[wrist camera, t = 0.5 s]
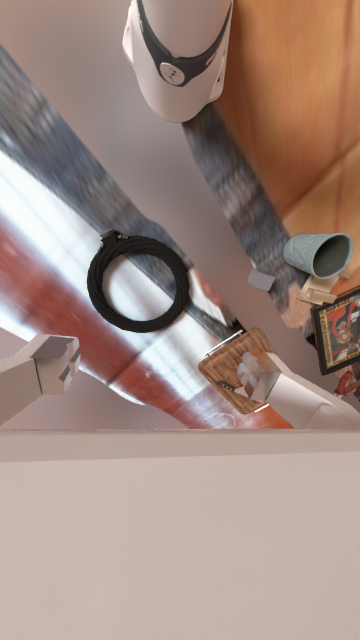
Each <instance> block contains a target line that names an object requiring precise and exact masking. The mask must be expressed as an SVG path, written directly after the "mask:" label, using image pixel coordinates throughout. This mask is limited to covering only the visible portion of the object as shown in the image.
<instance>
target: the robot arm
mask: <svg viewBox="0 0 360 640" xmlns="http://www.w3.org/2000/svg"><path fill="white" fill-rule="evenodd" d="M232 9H233V0H132V2H131V6H130V8H129V15H128V19H127V24H126V27H125V32H124V36H123V51H124V53H125V55H126V57H127V59H128V61H129V62H130V64H131V66H132V67H133V68H134V70H135V73H136V76H137V79H138V82H139V86H140V89H141V92H142V94H143V96H144V98H145V100H146V102H147V103H148V105H149V106H150V108H151V109H152V110H153V111H154V112H155V113H156V114H157V115H158V116H160V117H161V118H163V119H164V120H166V121H169V122H174V123H181V122H185V121H188V120H190V119H192V118H193V117H194V116H196V115H197V114H198V113H199V112H200V110H201V109H202V108H203V107H204V106H205V105H206V104H207V103H210V102H212V101H215V100H217V99H218V98H219V97H220V96H221V93H222V90H223V84H224V76H225V67H226V59H227V51H228V42H229V34H230V25H231V17H232ZM218 79H219V82H217V80H218ZM78 347H79V339H78V338H77V337H67V336H57V335H47V334H38V335H36V336H35V337H34V338H33V339H32V340H31V341H30V342H29V343H28V344H27V345H26V346H25V347H23V348H22V349H21V350H20V351H19V352H18V353H17V354H16V355H15V356H14V357H7V358H5V359H2V360H0V426H1V425H2V424H3V423H5V422H6V421H8V420H9V419H10V418H12V417H13V416H14V415H16V414H17V413H18V412H20V411H21V410H23V409H24V408H25V407H27V406H28V405H29V404H31V403H32V402H33V401H35V400H36V399H37V398H39V397H40V396H42V395H41V394H65V393H66V391H67V390H68V388H69V386H70V384H71V377H72V376H74V375H75V374H76V373H77V371H78V368H79V364H80V353H79V352H78V351H77V349H78ZM242 358H243V362H242V363H240V364H239V367H238V378H239V380H240V382H241V383H242V384H244V385H245V387H244V390H245V392H246V394H247V395H248V397H249V399H250V400H263V401H265V402H267V403H268V404H269V405H270V406H271V407H272V408H273V409H274V410H275V411H276V412H277V413H278V414H280V415H281V416H282V417H283V418H284V419H285V420H286V421H287V422H288V423H289V424H290V425H292V426H293V427H294V428H295V429H82V430H81V429H74V430H73V429H70V430H69V429H64V430H63V429H62V430H61V429H59V430H58V429H50V430H49V429H48V430H46V429H45V430H0V640H360V414H359V413H358V412H357V411H356V410H355V409H354V408H353V407H352V406H351V405H349V404H348V403H346V402H344V401H342V400H341V399H339V398H337V397H335V396H334V395H332V394H330V393H328V392H326V391H325V390H323V389H321V388H320V387H318V386H316V385H314V384H313V383H311V382H309V381H307V380H306V379H304V378H302V377H300V376H299V375H297V374H293V373H292V372H291V371H290V370H289V369H288V367H287V366H286V365H285V364H284V363H283V362H282V361H281V360H280V359H279V358H278V356H277V355H276V354H274V353H269V352H249V351H246V352H245V353H244V354H243V357H242Z"/></svg>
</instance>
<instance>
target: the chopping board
mask: <svg viewBox="0 0 360 640" xmlns="http://www.w3.org/2000/svg"><path fill="white" fill-rule="evenodd" d="M241 332H242V329H241V330H240V331H238V332H237V333H235V334H233V335H232V336H230V337H229V338H227V339H226V340H224V341H223V342H221V343H220V344H218V345H216V346H215V347H213V348H212V349H210V350H209V351H207V352H206V353H204V354H203V355H204V356H205V355H208V356H209V357H207V358H205V359H204V360H202V361H201V362H200V363H199V365H198V370H199V371H200V373H201V374H202V375H203V376H204V377H205V378H206V379H207V380H208V381H209V382H210V383H211V384H212V385H213V386H214V387H215V388H216V389H217V390H218V391H219V392H220V393H221V394H222V395H223V396H224V397H225V398H226V399H227V400H228V401H229V402H230V403H231V404H232V405H233V406H234V407H235V408H236V409H237V410H238V411H239V412H240V413H241V414H249V413H251V412H253V411H254V412H255V413H256V412H258V411H260V410H262V409H263V408H265V407H267V406H269V404H267V402H265V401H263V400H250V399H249V397H248V395H247V394H246V392H245V390H244V387H245V385H244V384H242V383H241V382H240V380H239V378H238V367H239V364H240V363H242V362H243V358H242V357H243V354H244V353H245V352H246V351H249V352H269V353H274V354H276V352H275V351H274V349H273V348H272V346H271V344H270V343H269V341H268V339H267V338H266V336H265V334H264V333H263V332H262V331H261V330H260V329H259V328H251V329H249V330H247V332H246V333H244V334H243V335H241V334H240V333H241ZM238 334H239V335H240V337H238V338H237V339H235V340H233V341H232V342H230V343H229V344H227V345H226V346H224V347H223V348H221V349H219V350H218V351H216V352H215V353H213V354H212V355H209V354H208V353H210V352H211V351H213V350H214V349H216V348H217V347H219V346H221V345H222V344H224V343H225V342H227V341H228V340H230V339H231V338H233V337H234V336H236V335H238ZM276 355H277V354H276ZM266 404H267V405H266ZM264 405H265V406H264ZM262 406H263V407H262ZM260 407H261V408H260ZM258 408H260V409H258ZM257 409H258V410H257ZM255 410H256V411H255Z"/></svg>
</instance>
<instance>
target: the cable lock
mask: <svg viewBox="0 0 360 640" xmlns="http://www.w3.org/2000/svg"><path fill="white" fill-rule="evenodd" d="M113 231H114V229H108V230H106V231H104V232H102V233H101V235H100V237H103V239H102V240H101V241H102V242H103V243H104V244H101V246H100V248H99V250H98V253H97V254H96V255H95V257H94V258H93V260H92V261H91V264H90V268H89V270H88V276H87V289H88V292H89V296H90V299H91V301H92V304H93V305H94V307H95V308H96V310H97V311H98V312H99V313H100V315H101V316H102V317H103V318H104V319H106V320H107V321H108V322H109V323H111V324H113V325H115V326H116V327H118V328H120V329H122V330H126V331H131V332H136V333H147V332H153V331H156V330H159V329H161V328H163V327H165V326H167V325H169V324H171V323H172V322H173V321H174V320H175V319H176V318H177V317H178V316H179V315H180V314H181V312H182V311H183V309H184V306H185V304H186V302H187V299H188V292H189V280H188V276H187V273H186V269H185V267H184V265H183V263H182V262H181V260H180V259H179V257H178V256H177V255H176V254H175V253H174V252H173V251H172V250H171V249H170V248H168V247H167V246H166V245H165V244H163V243H161V242H159V241H157V240H155V239H151V238H148V237H144V236H137V235H136V236H128V235H127V236H126V235H118V236H117V233H113ZM130 251H141V252H148V253H150V254H152V255H154V256H156V257H159V258H161V259H162V260H163V261H164V262H165V263H166V264H167V265H168V266H169V267H170V269H171V271H172V273H173V275H174V277H175V280H176V288H177V292H176V296H175V300H174V303H173V304H172V306H171V307H170V308H169V310H168V311H167V312H166V313H164V314H163V315H162V316H160V317H158V318H156V319H153V320H149V321H133V320H130V319H127V318H125V317H123V316H121V315H119V314H118V313H116V312H115V311H114V310H113V309H112V308H111V307H110V306H109V305H108V303H107V302H106V299H105V297H104V294H103V292H102V277H103V272H104V271H105V269H106V268H107V266H108V265H109V263H110V262H111V261H112V260H113V259H114V258H116V257H118V256H119V255H121V254H124V253H127V252H130Z"/></svg>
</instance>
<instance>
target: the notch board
mask: <svg viewBox="0 0 360 640" xmlns="http://www.w3.org/2000/svg"><path fill="white" fill-rule="evenodd" d="M347 265H348V264H347ZM354 271H355V270H352V269H349V268H346V267H345V268H344V269H343V270H342V271H341V272H340V273H338V274H337V275H335V276H333V277H331V278H328V279H319V278H317V277H315V276H313V275H311V274H310V276H309V278H308V280H307V281H306V283H305V285H304V287H303V288H302V290H301V292H300V294H299V295H298V297H297V298H298V299H300V300H303V301H307V302H311V303H315V304H319V305H322V303H323V302H328V303H332V304H333V302H334V301H335V299H336V298H337V296H335V295H333V294H330V291H331V289H332V288H333V286H334V285H335V283H336V282H337V280H338V279H339V277H340V276H342V277H346V278H350V277H351V275H352V274H353V272H354Z"/></svg>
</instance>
